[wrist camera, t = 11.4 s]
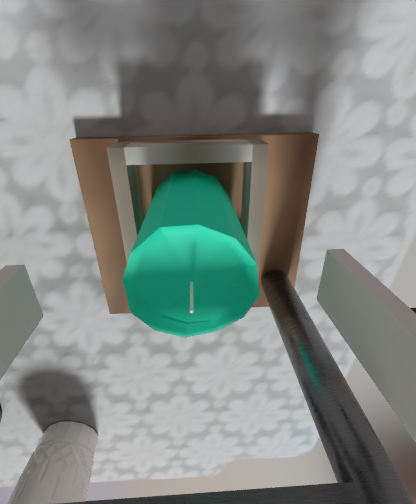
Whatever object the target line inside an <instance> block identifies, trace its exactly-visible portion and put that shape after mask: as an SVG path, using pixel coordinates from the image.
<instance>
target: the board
mask: <svg viewBox="0 0 416 504" xmlns="http://www.w3.org/2000/svg"><path fill="white" fill-rule="evenodd" d="M318 137H319V134H316V133H277V134H230V135H184V136H137V137H90V138H74V139H70V144H71V148H72V152H73V157H74V161H75V165H76V170H77V174H78V178H79V182H80V187H81V191H82V195H83V200H84V204H85V208H86V212H87V217H88V221H89V225H90V230H91V234H92V238H93V242H94V247H95V251H96V255H97V260H98V264H99V268H100V272H101V277H102V281H103V285H104V290H105V294H106V298H107V303H108V307H109V311H110V314H117V313H131V312H130V308H129V304H128V300H127V296H126V292H125V288H124V284H123V280H122V279H123V276H124V273H125V269H126V266H127V263H128V260H129V256H130V253H131V250H132V248H133V246H134V243H135V241H136V238H137V236H138V233H139V231H140V229H141V226H142V224H143V221H144V219H145V216H146V214H147V211H148V209H149V207H150V204H151V202H152V199H153V197H154V194H155V192H156V190H157V187H158V185H160V184H161V183H162V182H163V181H164V180H166V179H167V178H168V177H169V176H170V175H171V174H173V173H174V172H179V171H186V170H192V169H197V170H199V171H202V172H204V173H207V174H209V175H212V176H214V177H216V178H217V180H218V181H219V182H220V184H221V185H222V186H223V188H224V189H225V190H226V192H227V193H228V195H229V197H230V200H231V202H232V205H233V207H234V209H235V212H236V214H237V217H238V219H239V222H240V224H241V226H242V229H243V231H244V234H245V236H246V239H247V241H248V243H249V246H250V248H251V251H252V253H253V256H254V258H255V260H256V263H257V271H258V283H259V295H260V296H259V297H258V298H257V300H256V301H255V302H254V304H253V305H252V306H251V307H268V306H269V304H268V301H267V299H266V296H265V293H264V291H263V288H262V286H261V281H262V278H263V277H264V275H266V274H267V273H268V272H270V271H274V270H279V271H283V272H284V273H285V274H286V275H287V276H288V278H289V280H290V282H291V284H292V285H293V287H295V281H296V275H297V268H298V262H299V256H300V250H301V243H302V237H303V231H304V225H305V218H306V212H307V206H308V200H309V193H310V187H311V181H312V175H313V168H314V162H315V156H316V150H317V143H318Z"/></svg>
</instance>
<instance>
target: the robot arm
mask: <svg viewBox="0 0 416 504" xmlns="http://www.w3.org/2000/svg"><path fill="white" fill-rule="evenodd" d="M317 300H318V302H319V303H320V305H321V306H322V308H323V309H324V311H325V312H326V313H327V315H328V316H329V318H330V319H331V321H332V322H333V324H334V325H335V326H336V328H337V329H338V331H339V332H340V334H341V335H342V337H343V338H344V340H345V341H346V342H347V344H348V345H349V347H350V348H351V350H352V351H353V353H354V354H355V355H356V357H357V358H358V360H359V361H360V363H361V364H362V366H363V367H364V368H365V370H366V371H367V373H368V374H369V376H370V377H371V378H372V380H373V381H374V383H375V384H376V386H377V387H378V389H379V390H380V392H381V393H382V394H383V396H384V397H385V399H386V400H387V402H388V403H389V405H390V406H391V408H392V409H393V411H394V412H395V413H396V415H397V416H398V418H399V419H400V421H401V422H402V423H403V425H404V426H405V428H406V429H407V431H408V432H409V434H410V435H411V437H412V438H413V439H414V441H415V442H416V308H409V307H408V306H407V305H406V304H405V303H404V302H402V301H401V300H400V299H399V298H398V297H397V296H395V294H393V293H392V292H391V291H390V290H389V289H388V288H387V287H386V286H384V285H383V284H382V283H381V282H380V281H379V280H378V279H377V278H375V277H374V276H373V275H372V274H371V273H370V272H369V271H368V270H366V269H365V268H364V267H363V266H362V265H361V264H360V263H359V262H358V261H356V260H355V259H354V258H353V257H352V256H351V255H350V254H349V253H347V252H346V251H345V250H344V249H333V250H327V252H326V257H325V262H324V266H323V271H322V276H321V281H320V286H319V291H318V295H317ZM42 317H43V313H42V310H41V308H40V305H39V302H38V300H37V297H36V294H35V292H34V289H33V286H32V284H31V281H30V278H29V276H28V273H27V270H26V268H25V265H11V266H5V267H4V268H2V269H1V270H0V379H1V378H2V376H3V375H4V374H5V372H6V371H7V369H8V368H9V366H10V365H11V363H12V362H13V360H14V359H15V357H16V356H17V354H18V353H19V351H20V350H21V348H22V347H23V345H24V344H25V342H26V341H27V339H28V338H29V337H30V335H31V334H32V332H33V331H34V329H35V328H36V326H37V325H38V323H39V322H40V320H41V319H42ZM0 421H1V409H0Z"/></svg>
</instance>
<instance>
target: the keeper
mask: <svg viewBox="0 0 416 504" xmlns="http://www.w3.org/2000/svg"><path fill="white" fill-rule="evenodd" d="M261 286H262V288H263V291H264V293H265V296H266V299H267V301H268V304H269V306H270V309H271V312H272V314H273V317H274V319H275V322H276V324H277V327H278V330H279V332H280V335H281V337H282V340H283V342H284V345H285V348H286V350H287V353H288V355H289V358H290V361H291V363H292V366H293V368H294V371H295V373H296V376H297V379H298V381H299V384H300V386H301V389H302V392H303V394H304V397H305V399H306V402H307V404H308V407H309V410H310V412H311V415H312V417H313V420H314V422H315V425H316V428H317V430H318V433H319V435H320V438H321V441H322V443H323V446H324V448H325V451H326V453H327V456H328V459H329V461H330V464H331V466H332V468H333V471H334V474H335V477H336V479H337V482H338V483H333V484H319V485H305V486H292V487H278V488H265V489H250V490H237V491H223V492H209V493H195V494H181V495H167V496H153V497H139V498H128V499H127V498H126V499H113V500H99V501H84V502H70V503H57V504H415V503H414V501H413V500H412V498H411V496H410V494H409V493H408V491H407V489H406V487H405V485H404V484H403V482H402V480H401V478H400V476H399V475H398V473H397V471H396V469H395V467H394V466H393V464H392V462H391V460H390V459H389V457H388V455H387V453H386V451H385V450H384V448H383V446H382V444H381V443H380V441H379V439H378V437H377V435H376V434H375V432H374V430H373V428H372V426H371V425H370V423H369V421H368V419H367V417H366V416H365V414H364V412H363V410H362V409H361V407H360V405H359V403H358V402H357V400H356V398H355V396H354V394H353V393H352V391H351V389H350V387H349V385H348V384H347V382H346V380H345V378H344V376H343V375H342V373H341V371H340V369H339V367H338V366H337V364H336V362H335V360H334V359H333V357H332V355H331V353H330V351H329V350H328V348H327V346H326V344H325V342H324V341H323V339H322V337H321V335H320V334H319V332H318V330H317V328H316V326H315V325H314V323H313V321H312V319H311V317H310V316H309V314H308V312H307V310H306V309H305V307H304V305H303V303H302V301H301V300H300V298H299V296H298V294H297V292H296V291H295V289H294V287H293V285H292V284H291V282H290V280H289V278H288V276H287V275H286V274H285V273H284V272H283V271H279V270H274V271H270V272H268V273H267V274H266V275H264V277H263V278H262V281H261Z"/></svg>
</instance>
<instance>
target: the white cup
mask: <svg viewBox="0 0 416 504" xmlns="http://www.w3.org/2000/svg"><path fill="white" fill-rule="evenodd" d="M97 441H98V435H97V433H96V432H95V431H94V429H93V428H91V427H89V426H87V425H85V424H83V423H78V422H73V421H64V422H58V423H55V424H52V425H50V426H49V427H48V428H47V429H46V430H45V432H44V433H43V435H42V437H41V439H40V441H39V444H38V446H37V448H36V450H35V451H34V452H33V454H32V456H31V458H30V460H29V462H28V463H27V466H26V468H25V469H24V471H23V473H22V475H21V477H20V479H19V481H18V483H17V485H16V487H15V489H14V491H13V493H12V495H11V497H10V499H9V501H8V503H7V504H57V503H70V502H84V501H85V499H86V495H87V491H88V486H89V482H90V477H91V471H92V467H93V462H94V461H93V459H94V455H95V450H96V446H97Z"/></svg>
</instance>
